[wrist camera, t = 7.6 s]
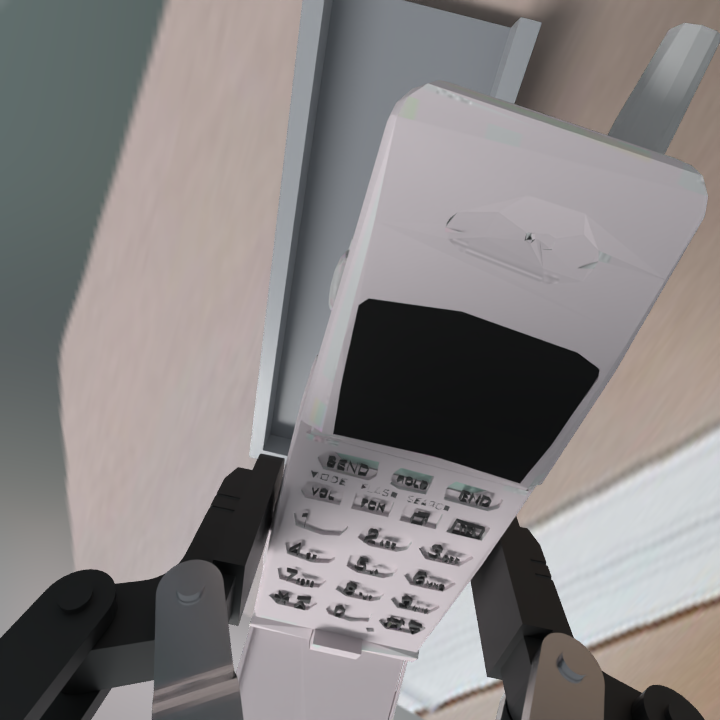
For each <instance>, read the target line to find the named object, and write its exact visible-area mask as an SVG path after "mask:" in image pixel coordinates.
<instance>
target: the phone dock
mask: <svg viewBox="0 0 720 720" xmlns="http://www.w3.org/2000/svg"><path fill="white" fill-rule="evenodd" d="M541 24H542V22H538V21H534V20H530V19H526V18H522V17H520V18H519V20H518V21H517V22H516V23H515V24H514V25H513V26H512V27H511V28H510V27H506V26H502V25H498V24H494V23H490V22H486V21H483V20H479V19H475V18H471V17H467V16H463V15H459V14H455V13H451V12H447V11H443V10H439V9H436V8H432V7H428V6H424V5H420V4H416V3H412V2H408V1H404V0H303V2H302V10H301V19H300V27H299V36H298V44H297V53H296V62H295V70H294V79H293V87H292V96H291V104H290V113H289V121H288V130H287V138H286V147H285V156H284V164H283V173H282V181H281V190H280V198H279V207H278V215H277V224H276V232H275V241H274V249H273V258H272V267H271V275H270V284H269V292H268V301H267V309H266V318H265V326H264V335H263V343H262V352H261V361H260V369H259V378H258V386H257V395H256V403H255V412H254V420H253V429H252V437H251V446H250V454H249V457H252V458H256V459H258V457H259V455H260V454H261V453H262V454H266V455H271V456H276V457H281V458H285V463H284V465H285V464H286V460H287V456H288V452H289V448H290V444H291V440H292V436H293V432H294V428H295V424H296V420H297V416H298V412H299V408H300V404H301V400H302V397H303V394H304V391H305V387H306V384H307V381H308V378H309V375H310V371H311V368H312V365H313V362H314V360H315V358H316V356H317V354H318V355H319V351H320V348H321V345H322V341H323V338H324V334H325V331H326V328H327V324H328V321H329V318H330V314H331V311H332V310H330V308H329V305H328V304H329V293H330V286H331V282H332V279H333V275H334V271H335V268H336V266H337V264H338V262H339V260H340V258H341V256H342V255H343V254H344V253H345V252H346V251H347V250H348V249H349V247H350V243H351V240H352V237H353V235H354V233H355V230H356V226H357V223H358V220H359V216H360V213H361V209H362V206H363V202H364V199H365V195H366V192H367V189H368V185H369V182H370V178H371V175H372V171H373V168H374V165H375V161H376V158H377V154H378V151H379V147H380V144H381V141H382V137H383V134H384V130H385V127H386V123H387V120H388V118H389V116H390V114H391V112H392V110H393V108H394V106H395V104H396V102H397V101H399V100H400V99H401V98H402V97H403V96H404V95H406V94H407V93H408V92H409V91H410V90H411V89H413V88H416V87H418V86H421V85H424V84H427V83H431V82H434V81H437V80H441V81H446V82H451V83H454V84H457V85H460V86H463V87H466V88H469V89H472V90H474V91H477V92H480V93H483V94H486V95H489V96H492V97H495V98H498V99H501V100H504V101H507V102H510V103H513V104H514V103H515V100H516V97H517V95H518V92H519V89H520V86H521V83H522V80H523V77H524V74H525V71H526V68H527V65H528V62H529V59H530V56H531V53H532V50H533V47H534V44H535V41H536V38H537V36H538V33H539V30H540V27H541Z"/></svg>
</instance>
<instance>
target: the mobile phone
mask: <svg viewBox="0 0 720 720" xmlns="http://www.w3.org/2000/svg"><path fill="white" fill-rule="evenodd" d="M719 43H720V34H719V33H718V32H717V31H715V30H713V29H710V28H708V27H705V26H703V25H697V24H690V23H683V24H681V25H678V26H676V27H674V28H671V29H669V31H668V32H667V34H666V36H665V37H664V39H663V41H662V42H661V44H660V46H659V47H658V49H657V51H656V53H655V54H654V56H653V58H652V59H651V61H650V63H649V64H648V66H647V68H646V69H645V71H644V73H643V74H642V76H641V78H640V80H639V81H638V83H637V85H636V86H635V88H634V90H633V91H632V93H631V95H630V96H629V98H628V100H627V101H626V103H625V105H624V107H623V108H622V110H621V112H620V113H619V115H618V117H617V118H616V120H615V122H614V124H613V126H612V128H611V130H610V132H609V134H608V135H605V134H602V133H599V132H596V131H593V130H590V129H587V128H584V127H581V126H578V125H575V124H572V123H569V122H566V121H563V120H560V119H557V118H554V117H551V116H549V115H546V114H543V113H540V112H537V111H534V110H531V109H528V108H525V107H522V106H519V105H516V104H513V103H510V102H507V101H504V100H501V99H498V98H495V97H492V96H489V95H486V94H483V93H480V92H477V91H474V90H472V89H469V88H466V87H463V86H460V85H457V84H454V83H451V82H446V81H441V80H437V81H434V82H431V83H427V84H424V85H421V86H418V87H416V88H413V89H411V90H410V91H409V92H408V93H407V94H406V95H404V96H403V97H402V98H401V99H400V100H399V101H397V102H396V104H395V106H394V108H393V110H392V112H391V114H390V116H389V118H388V120H387V123H386V127H385V130H384V134H383V137H382V141H381V144H380V147H379V151H378V154H377V158H376V161H375V165H374V168H373V171H372V175H371V178H370V182H369V185H368V189H367V192H366V195H365V199H364V202H363V206H362V209H361V213H360V216H359V220H358V223H357V226H356V230H355V233H354V235H353V237H352V240H351V243H350V247H349V249H348V250H347V251H346V252H345V253H344V254H343V255H342V256H341V258H340V260H339V262H338V264H337V266H336V268H335V271H334V275H333V279H332V282H331V286H330V293H329V304H328V305H329V308H330V310H332V311H331V314H330V318H329V321H328V324H327V328H326V331H325V334H324V338H323V341H322V345H321V348H320V351H319V355H318V354H317V356H316V358H315V360H314V362H313V365H312V368H311V371H310V375H309V378H308V381H307V384H306V387H305V391H304V394H303V397H302V400H301V404H300V408H299V412H298V416H297V420H296V424H295V428H294V432H293V436H292V440H291V444H290V448H289V452H288V456H287V460H286V464H285V469H284V473H283V477H282V481H281V485H280V489H279V493H278V497H277V501H276V505H275V509H274V513H273V517H272V522H271V526H270V531H269V534H268V539H267V543H266V547H265V552H264V556H263V565H264V566H263V571H262V576H261V580H260V585H259V589H258V594H257V598H256V603H255V608H254V614H253V616H252V618H251V621H250V623H249V626H250V628H249V632H248V635H247V638H246V642H245V645H244V648H243V651H242V654H241V658H240V661H239V664H238V667H237V671H236V675H237V677H238V682H239V688H240V695H241V703H242V711H243V719H244V720H393V717H394V713H395V709H396V705H397V701H398V697H399V693H400V689H401V685H402V681H403V677H404V673H405V669H406V665H407V661H409V662H413V661H415V660H417V659H418V654H419V649H420V647H421V646H422V644H423V643H424V642H425V640H426V639H427V638H428V636H429V635H430V634H431V632H432V631H433V630H434V628H435V627H436V626H437V624H438V623H439V622H440V620H441V619H442V618H443V616H444V615H445V614H446V612H447V611H448V610H449V608H450V607H451V606H452V604H453V603H454V602H455V600H456V599H457V598H458V596H459V595H460V594H461V592H462V591H463V590H464V588H465V587H466V586H467V584H468V583H469V582H470V580H471V579H472V578H473V576H474V575H475V574H476V572H477V571H478V570H479V568H480V567H481V566H482V564H483V563H484V561H485V560H486V558H487V557H488V555H489V554H490V553H491V551H492V550H493V548H494V547H495V545H496V544H497V542H498V541H499V539H500V538H501V537H502V535H503V534H504V532H505V531H506V529H507V528H508V526H509V525H510V524H511V522H512V521H513V519H514V518H515V516H516V515H517V513H518V512H519V511H520V509H521V508H522V506H523V505H524V503H525V502H526V500H527V499H528V497H529V496H530V494H531V493H532V491H533V490H534V488H535V487H536V485H540V484H542V483H543V481H544V479H545V478H546V476H547V475H548V473H549V472H550V470H551V469H552V467H553V466H554V464H555V463H556V461H557V460H558V458H559V457H560V455H561V453H562V452H563V450H564V449H565V447H566V446H567V444H568V443H569V441H570V440H571V438H572V437H573V435H574V434H575V432H576V431H577V429H578V428H579V426H580V424H581V423H582V421H583V420H584V418H585V417H586V415H587V414H588V412H589V411H590V409H591V408H592V406H593V405H594V403H595V402H596V400H597V398H598V397H599V395H600V394H601V392H602V391H603V389H604V388H605V386H606V385H607V383H608V382H609V380H610V379H611V377H612V376H613V374H614V372H615V371H616V369H617V368H618V366H619V364H620V362H621V361H622V359H623V357H624V355H625V354H626V352H627V350H628V349H629V347H630V345H631V343H632V342H633V340H634V338H635V336H636V335H637V333H638V331H639V329H640V328H641V326H642V324H643V323H644V321H645V319H646V317H647V316H648V314H649V312H650V310H651V309H652V307H653V305H654V303H655V302H656V300H657V298H658V297H659V295H660V293H661V291H662V290H663V288H664V286H665V284H666V283H667V281H668V279H669V277H670V276H671V274H672V272H673V271H674V269H675V267H676V265H677V264H678V262H679V260H680V258H681V257H682V255H683V253H684V251H685V250H686V248H687V246H688V245H689V243H690V241H691V239H692V238H693V236H694V234H695V232H696V231H697V229H698V227H699V225H700V224H701V222H702V220H703V219H704V217H705V212H706V206H707V200H708V194H707V191H706V187H705V183H704V180H703V176H702V175H701V174H700V173H699V172H698V171H697V170H696V169H695V168H694V167H693V166H691V165H689V164H687V163H684V162H682V161H680V160H678V159H675V158H673V157H670V156H667V155H664V154H665V152H666V150H667V148H668V146H669V144H670V142H671V140H672V138H673V137H674V135H675V132H676V130H677V128H678V126H679V124H680V122H681V120H682V118H683V116H684V114H685V112H686V110H687V108H688V106H689V104H690V102H691V100H692V98H693V96H694V94H695V92H696V90H697V88H698V85H699V83H700V81H701V79H702V77H703V75H704V73H705V71H706V69H707V67H708V65H709V63H710V61H711V59H712V57H713V55H714V53H715V51H716V49H717V47H718V45H719ZM404 660H405V662H404ZM403 662H404V666H403V669H402V665H403ZM401 669H402V673H401ZM400 673H401V676H400ZM399 676H400V680H399ZM398 680H399V684H398ZM397 684H398V687H397ZM396 687H397V691H396Z"/></svg>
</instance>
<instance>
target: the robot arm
mask: <svg viewBox="0 0 720 720" xmlns="http://www.w3.org/2000/svg"><path fill="white" fill-rule="evenodd" d="M284 463H285V458H281V457H276V456H271V455H266V454H262V453H261V454H260V455H259V457H258V459H257V461H256V463H255V466H254V468H253V470H249V469H244V468H239V467H238V468H237V469H235V470H234V471H233V472H232V473H231V474H229V475H228V476H227V477H226V478H225V479H224V480H223V482H222V484H221V486H220V488H219V490H218V492H217V495H216V496H215V498H214V500H213V502H212V504H211V507H210V508H209V510H208V512H207V513H206V515H205V517H204V519H203V521H202V523H201V525H200V527H199V529H198V531H197V533H196V535H195V537H194V539H193V541H192V543H191V545H190V546H189V548H188V550H187V552H186V554H185V556H184V557H183V559H182V560H181V561H180V562H179V564H177V565H176V566H174V567H173V568H171V569H170V570H169V571H168V572H167V573H165V574H163V575H161V576H159V577H156V578H153V579H150V580H144V581H136V582H127V583H119V584H115V583H114V581H113V579H112V578H111V577H110V576H109V575H108V574H107V573H105V572H103V571H99V570H92V569H89V570H81V571H77V572H74V573H71V574H69V575H67V576H64V577H63V578H61V579H59V580H58V581H56V582H55V583H54V584H52V585H51V586H50V587H49V588H48V589H47V590H46V591H45V592H44V593H43V594H42V595H41V596H40V597H39V598H38V599H37V600H36V601H35V602H34V603H33V605H31V607H30V608H29V609H28V610H27V611H26V612H25V613H24V614H23V615H22V616H21V617H20V618H19V619H18V620H17V621H16V622H15V623H14V624H13V625H12V626H11V628H10V629H9V630H8V631H7V632H6V633H5V634H4V635H3V636H2V637H1V638H0V720H91V719H92V717H93V716H94V714H95V713H96V711H97V710H98V708H99V707H100V705H101V703H102V702H103V701H104V699H105V697H106V696H107V694H108V693H109V691H110V690H111V688H113V687H119V686H124V685H130V684H135V683H140V682H146V681H151V680H154V695H153V703H152V720H244V719H243V711H242V703H241V695H240V688H239V682H238V677H237V675H236V674H235V672H234V667H233V660H232V652H231V643H230V634H229V625H228V624H232V625H237V626H238V625H239V622H240V619H241V616H242V613H243V610H244V607H245V604H246V601H247V598H248V595H249V592H250V588H251V585H252V582H253V579H254V576H255V573H256V570H257V567H258V564H259V561H260V558H261V555H262V552H263V549H264V546H265V543H266V540H267V537H268V534H269V531H270V526H271V522H272V517H273V513H274V509H275V505H276V501H277V497H278V493H279V489H280V485H281V481H282V476H283V469H284ZM471 586H472V592H473V598H474V604H475V609H476V615H477V621H478V627H479V633H480V638H481V644H482V650H483V656H484V662H485V668H486V673H487V677H491V678H496V679H500V680H503V685H504V690H505V693H504V694H503V696H502V698H501V700H500V703H499V707H498V711H497V716H496V720H704V718H703V717H702V715H701V714H700V713H699V712H698V710H697V709H696V708H695V707H694V706H693V705H692V704H691V703H690V702H689V701H688V700H686V699H685V698H684V697H683V696H681V695H680V694H679V693H677V692H675V691H674V690H672V689H670V688H668V687H665V686H661V685H652V686H649V687H648V688H647V689H646V690H645V691H644V692H643V693H641V692H639V691H637V690H635V689H633V688H632V687H630V686H628V685H626V684H624V683H622V682H620V681H619V680H617V679H615V678H613V677H611V676H609V675H608V674H606V673H604V672H603V671H602V670H601V668H600V666H599V664H598V662H597V661H596V659H595V658H594V656H593V655H592V654H591V652H590V651H589V650H588V649H587V648H586V647H585V646H584V645H583V644H581V643H580V642H579V641H577V640H576V639H574V637H573V635H572V632H571V629H570V627H569V624H568V621H567V618H566V616H565V613H564V610H563V607H562V604H561V602H560V599H559V596H558V593H557V591H556V588H555V585H554V582H553V580H551V574H550V571H549V569H548V566H546V560H545V557H544V555H543V552H542V549H541V546H540V544H539V543H538V542H537V540H536V539H535V538H534V536H533V535H532V534H531V532H530V531H529V530H528V529H527V528H522V527H520V526H519V523H518V520H517V517H516V516H515V518H514V519H513V521H512V522H511V524H510V525H509V526H508V528H507V529H506V531H505V532H504V534H503V535H502V537H501V538H500V539H499V541H498V542H497V544H496V545H495V547H494V548H493V550H492V551H491V553H490V554H489V555H488V557H487V558H486V560H485V561H484V563H483V564H482V566H481V567H480V568H479V570H478V571H477V572H476V574H475V575H474V576H473V578H472V579H471Z"/></svg>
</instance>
